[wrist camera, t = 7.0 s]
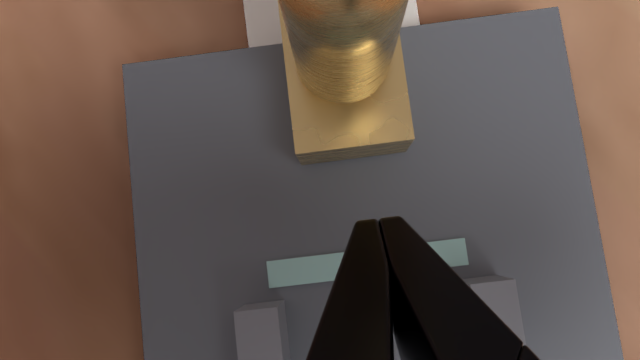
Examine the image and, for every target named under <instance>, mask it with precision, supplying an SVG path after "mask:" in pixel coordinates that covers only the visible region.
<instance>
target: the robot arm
mask: <svg viewBox="0 0 640 360" xmlns="http://www.w3.org/2000/svg"><path fill="white" fill-rule="evenodd" d="M393 333H394V337H395V341H396V345H397V348H398V352H399V355H400V359H401V360H540V359H539V358H538V357H537V356H536V355H535V354H534V353H533V351H532V350H531V349H530V348H529V347H528V346H526V345H524V346H523V342H522V340H521V339H520V338H519V337H518V336H517V335H516V334H515V333H514V332H513V331H512V330H511V329H510V328H509V327H508V326H507V325H506V324H505V323H504V322H503V321H502V320H501V319H500V318H499V317H498V316H497V314H496V313H495V312H494V311H493V310H492V309H491V308H490V307H489V306H488V305H487V304H486V303H485V302H484V301H483V300H482V299H481V298H480V297H479V296H478V295H477V294H476V293H475V292H474V291H473V290H472V289H471V288H470V287H469V286H468V285H467V283H466V282H465V281H464V280H463V279H462V278H461V277H460V276H459V275H458V274H457V273H456V272H455V271H454V270H453V269H452V268H451V267H450V266H449V265H448V264H447V263H446V262H445V261H444V260H443V259H442V258H441V257H440V256H439V255H438V253H437V252H436V251H435V250H434V249H433V248H432V247H431V246H430V245H429V244H428V243H427V242H426V241H425V240H424V239H423V238H422V237H421V236H420V235H419V234H418V233H417V232H416V231H415V230H414V229H413V228H412V227H411V226H410V225H409V224H408V222H407V221H406V220H405V219H404V218H403V217H401V216H392V217H384V218H381V219H380V220H379V222H378V220H377V219H367V220H359V221H357V222H356V223H355V224H354V227H353V229H352V232H351V235H350V238H349V241H348V243H347V246H346V249H345V252H344V254H343V257H342V260H341V263H340V266H339V268H338V271H337V274H336V277H335V279H334V282H333V285H332V288H331V291H330V293H329V296H328V299H327V302H326V304H325V307H324V310H323V313H322V316H321V318H320V321H319V324H318V327H317V330H316V332H315V335H314V338H313V341H312V343H311V346H310V349H309V352H308V355H307V357H306V360H394V340H393Z"/></svg>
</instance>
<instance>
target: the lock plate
mask: <svg viewBox="0 0 640 360" xmlns="http://www.w3.org/2000/svg"><path fill="white" fill-rule="evenodd" d="M400 40H401V47H402V53H403V60H404V67H405V74H406V81H407V88H408V95H409V102H410V109H411V116H412V123H413V129H414V136H415V140H414V141H413V142H412V144H411V145H410V147H409V148H408V149H407V151H406V152H402V153H394V154H386V155H378V156H370V157H362V158H354V159H346V160H338V161H330V162H322V163H314V164H306V165H301V163H300V162H299V160H298V158H297V156H296V155H295V147H294V139H293V130H292V121H291V113H290V104H289V95H288V87H287V78H286V69H285V60H284V52H283V43H281V44H273V45H266V46H258V47H251V48H243V49H236V50H228V51H221V52H213V53H206V54H198V55H191V56H183V57H175V58H168V59H160V60H153V61H145V62H138V63H130V64H123V65H122V68H123V81H124V95H125V108H126V122H127V135H128V148H129V162H130V175H131V189H132V202H133V216H134V229H135V243H136V256H137V270H138V283H139V297H140V310H141V323H142V337H143V350H144V360H306V357H307V355H308V352H309V349H310V346H311V343H312V341H313V338H314V335H315V332H316V330H317V327H318V324H319V321H320V318H321V316H322V313H323V310H324V307H325V304H326V302H327V299H328V296H329V293H330V291H331V288H332V285H333V282H334V279H335V277H336V274H337V271H338V268H339V266H340V263H341V260H342V257H343V254H344V252H345V249H346V246H347V243H348V241H349V238H350V235H351V232H352V229H353V227H354V224H355V223H356V222H357V221H359V220H367V219H377V220H378V222H379V220H380V219H381V218H384V217H392V216H401V217H403V218H404V219H405V220H406V221H407V222H408V224H409V225H410V226H411V227H412V228H413V229H414V230H415V231H416V232H417V233H418V234H419V235H420V236H421V237H422V238H423V239H424V240H425V241H426V242H427V243H428V244H429V245H430V246H431V247H432V248H433V249H434V250H435V251H436V252H437V253H438V255H439V256H440V257H441V258H442V259H443V260H444V261H445V262H446V263H447V264H448V265H449V266H450V267H451V268H452V269H453V270H454V271H455V272H456V273H457V274H458V275H459V276H460V277H461V278H462V279H463V280H464V281H465V282H466V283H467V285H468V286H469V287H470V288H471V289H472V290H473V291H474V292H475V293H476V294H477V295H478V296H479V297H480V298H481V299H482V300H483V301H484V302H485V303H486V304H487V305H488V306H489V307H490V308H491V309H492V310H493V311H494V312H495V313H496V314H497V316H498V317H499V318H500V319H501V320H502V321H503V322H504V323H505V324H506V325H507V326H508V327H509V328H510V329H511V330H512V331H513V332H514V333H515V334H516V335H517V336H518V337H519V338H520V339H521V340H522V342H523V346H524V345H526V346H528V347H529V348H530V349H531V350H532V351H533V353H534V354H535V355H536V356H537V357H538V358H539V359H540V360H624V359H623V353H622V348H621V342H620V337H619V332H618V326H617V321H616V316H615V310H614V305H613V299H612V294H611V289H610V283H609V278H608V273H607V267H606V262H605V256H604V251H603V246H602V240H601V235H600V229H599V224H598V219H597V213H596V208H595V203H594V197H593V192H592V186H591V181H590V176H589V170H588V165H587V160H586V154H585V149H584V143H583V138H582V133H581V127H580V122H579V117H578V111H577V106H576V100H575V95H574V90H573V84H572V79H571V73H570V68H569V63H568V57H567V52H566V47H565V41H564V36H563V30H562V25H561V20H560V14H559V9H558V7H552V8H544V9H537V10H529V11H522V12H514V13H507V14H499V15H492V16H484V17H477V18H469V19H462V20H454V21H447V22H439V23H432V24H424V25H416V26H409V27H401V29H400ZM393 340H394V360H401V359H400V355H399V352H398V348H397V345H396V341H395V337H394V333H393Z"/></svg>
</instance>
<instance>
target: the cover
mask: <svg viewBox="0 0 640 360" xmlns="http://www.w3.org/2000/svg"><path fill="white" fill-rule="evenodd" d="M243 4H244V12H245V21H246V29H247V37H248V45H249V48H251V47H258V46H266V45H273V44H281V43H282V34H281V26H280V17H279V8H278V0H243ZM416 25H420V22H419V16H418V10H417V3H416V0H408V4H407V8H406V11H405V15H404V19H403V22H402V26H401V27H409V26H416Z"/></svg>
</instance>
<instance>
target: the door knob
mask: <svg viewBox="0 0 640 360" xmlns="http://www.w3.org/2000/svg"><path fill="white" fill-rule="evenodd" d="M407 4H408V0H278V8H279V17H280V26H281V34H282V43H283V52H284V60H285V69H286V78H287V87H288V95H289V104H290V113H291V121H292V130H293V139H294V147H295V155H296V156H297V158H298V160H299V162H300V163H301V165H306V164H314V163H322V162H330V161H338V160H346V159H354V158H362V157H370V156H378V155H386V154H394V153H402V152H406V151H407V149H408V148H409V147H410V145H411V144H412V142H413V141H414V140H415V136H414V129H413V123H412V116H411V109H410V102H409V95H408V88H407V81H406V74H405V67H404V60H403V53H402V47H401V40H400V29H401V26H402V22H403V19H404V15H405V11H406V8H407Z"/></svg>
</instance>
